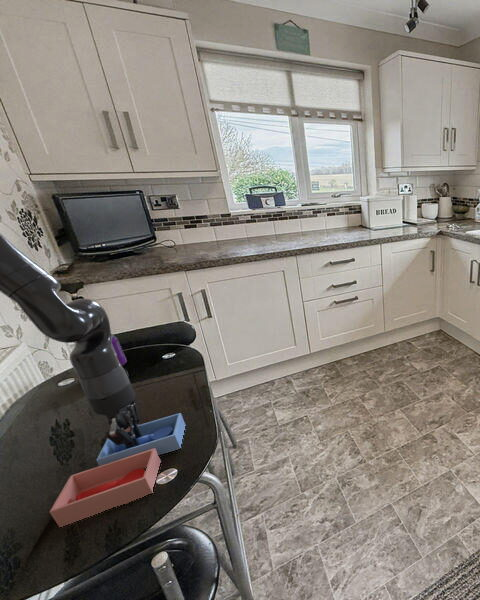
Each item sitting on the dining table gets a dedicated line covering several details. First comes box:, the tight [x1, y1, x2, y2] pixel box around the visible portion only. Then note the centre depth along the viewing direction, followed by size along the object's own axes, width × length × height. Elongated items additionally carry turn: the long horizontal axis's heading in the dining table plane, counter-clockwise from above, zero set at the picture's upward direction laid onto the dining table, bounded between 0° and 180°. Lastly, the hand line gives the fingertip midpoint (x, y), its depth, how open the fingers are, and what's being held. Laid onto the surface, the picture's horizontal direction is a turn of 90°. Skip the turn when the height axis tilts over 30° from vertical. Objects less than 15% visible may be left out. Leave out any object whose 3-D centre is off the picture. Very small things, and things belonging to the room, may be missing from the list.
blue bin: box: [95, 412, 187, 467], centre depth 79 cm, size 15×9×4 cm, turn 115°
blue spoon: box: [114, 426, 174, 453], centre depth 79 cm, size 12×4×2 cm, turn 115°
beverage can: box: [111, 333, 128, 367], centre depth 118 cm, size 7×7×12 cm
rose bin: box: [49, 448, 162, 528], centre depth 68 cm, size 15×9×4 cm, turn 115°
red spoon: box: [76, 469, 145, 501], centre depth 68 cm, size 12×4×2 cm, turn 115°
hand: (136, 446), depth 79 cm, fingers closed on blue spoon, 2 cm apart
